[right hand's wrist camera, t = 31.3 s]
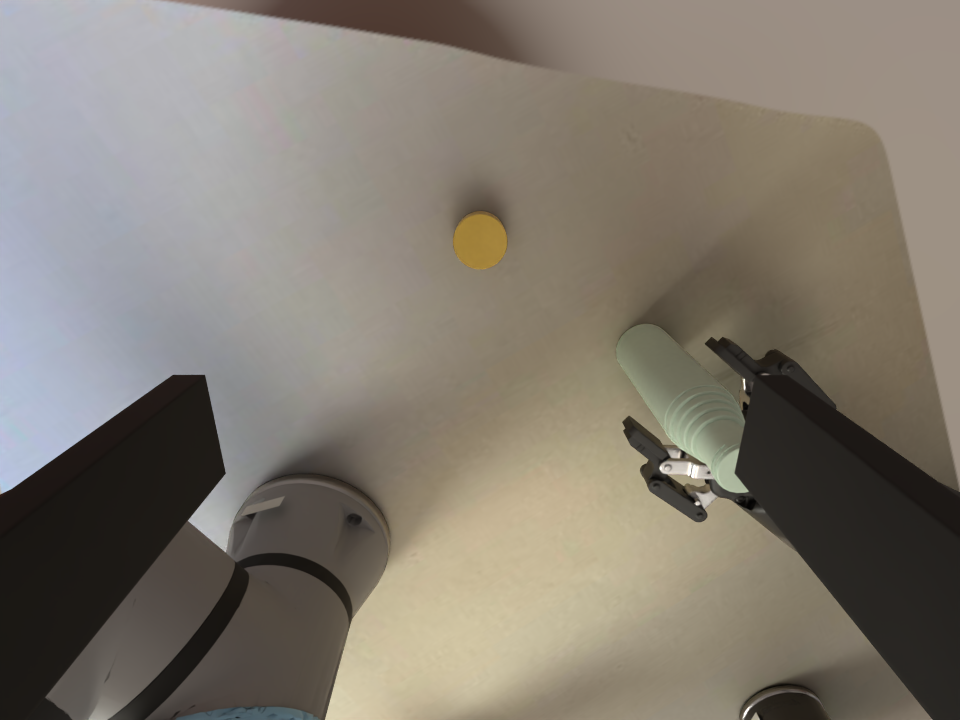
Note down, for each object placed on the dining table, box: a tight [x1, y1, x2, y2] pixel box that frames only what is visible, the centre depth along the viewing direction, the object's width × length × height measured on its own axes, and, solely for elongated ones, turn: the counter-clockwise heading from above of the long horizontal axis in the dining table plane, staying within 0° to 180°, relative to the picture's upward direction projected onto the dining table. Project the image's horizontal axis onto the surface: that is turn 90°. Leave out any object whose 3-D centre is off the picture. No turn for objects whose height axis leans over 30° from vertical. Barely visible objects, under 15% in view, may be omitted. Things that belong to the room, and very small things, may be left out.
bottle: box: [616, 324, 749, 493], centre depth 36 cm, size 5×5×18 cm
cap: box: [453, 211, 507, 269], centre depth 40 cm, size 4×4×2 cm
